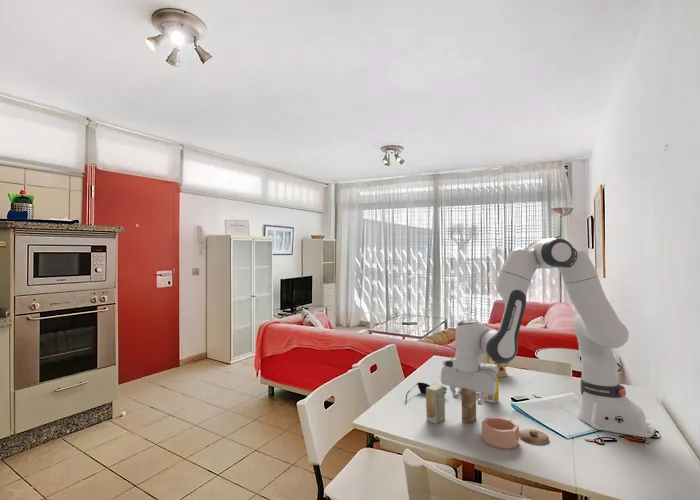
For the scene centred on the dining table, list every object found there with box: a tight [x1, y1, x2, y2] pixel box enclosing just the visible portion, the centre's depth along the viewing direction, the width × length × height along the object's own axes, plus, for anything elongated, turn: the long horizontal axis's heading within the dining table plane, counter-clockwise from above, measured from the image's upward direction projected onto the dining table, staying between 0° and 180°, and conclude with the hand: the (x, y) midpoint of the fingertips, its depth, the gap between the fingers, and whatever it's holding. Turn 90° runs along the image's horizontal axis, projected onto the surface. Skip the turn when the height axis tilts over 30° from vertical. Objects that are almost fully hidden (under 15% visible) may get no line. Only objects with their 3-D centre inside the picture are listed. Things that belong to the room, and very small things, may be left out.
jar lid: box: [519, 428, 550, 445], centre depth 126 cm, size 9×9×2 cm
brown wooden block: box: [460, 388, 477, 425], centre depth 140 cm, size 4×5×12 cm
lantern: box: [485, 315, 510, 378], centre depth 194 cm, size 12×10×30 cm
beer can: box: [482, 362, 500, 404], centre depth 158 cm, size 6×6×15 cm
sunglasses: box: [405, 382, 448, 405], centre depth 159 cm, size 14×16×5 cm
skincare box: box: [425, 383, 446, 425], centre depth 140 cm, size 6×4×12 cm
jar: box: [481, 416, 520, 450], centre depth 124 cm, size 11×11×6 cm
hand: (467, 401), depth 140 cm, fingers open, 8 cm apart
